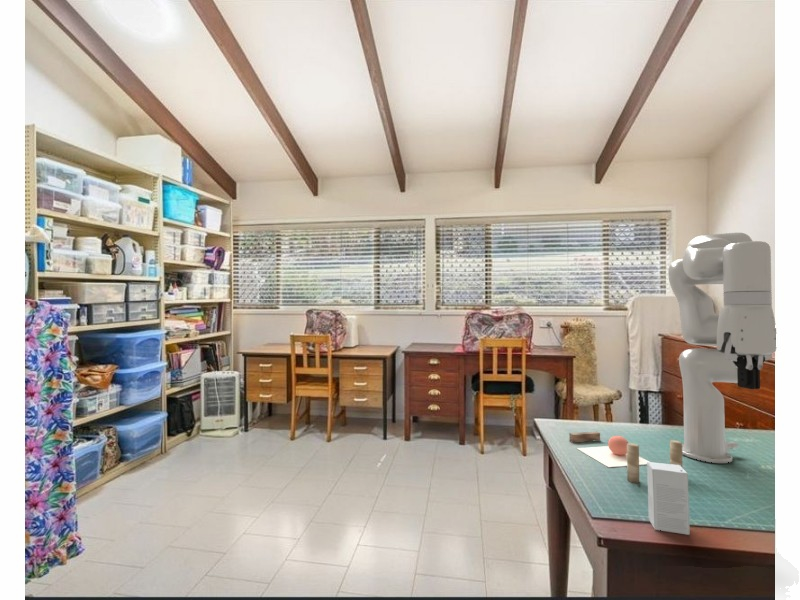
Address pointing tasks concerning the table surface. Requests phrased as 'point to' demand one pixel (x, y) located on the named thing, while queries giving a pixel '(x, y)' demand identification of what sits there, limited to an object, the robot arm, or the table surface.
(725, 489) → the table surface
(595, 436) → the wall
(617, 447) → the ball
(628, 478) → the post
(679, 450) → the post
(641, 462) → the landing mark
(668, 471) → the skincare box
